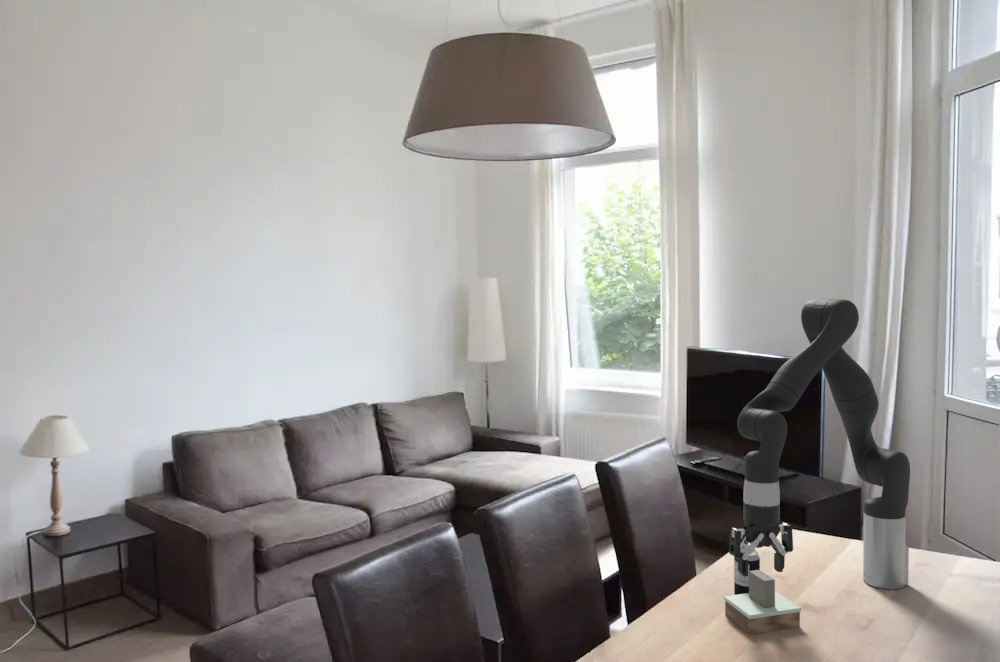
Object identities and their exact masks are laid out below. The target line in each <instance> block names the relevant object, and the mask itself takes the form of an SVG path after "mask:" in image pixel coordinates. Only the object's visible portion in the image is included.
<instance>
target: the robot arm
mask: <svg viewBox="0 0 1000 662" xmlns="http://www.w3.org/2000/svg"><path fill="white" fill-rule="evenodd" d="M800 313H801V314H800V320H801V325H802V329H803V331H804V334H805V337H806V338H807V340H808V342H809V344H808V345H807V346H806V347H805V348H803V349H802V350H801V351H799V352H798V353H796V354H795V355H793V356H792V357H790V358H789V359H788V360H787V361H785V362H784V363H783V364H782V365H781V366H780V367H779V368H778V370H777V371H776V373H774V375H773V377H772V378H771V380H770V382H769V383H768V384H767V386H766V388H765V389H764V390H762V391H761V392H760V393H758V394H757V395H756V396H755V397H754V398H752V400H751V401H750V402H748V403H747V404H746V405H745V406H744V407H743V409H742V410H741V412H740V413H739V415H738V418H737V421H736V424H737V425H736V426H737V431H738V432H739V434H740V436H742V437H743V438H745V439H747V440H751V441H756V442H760V447H759V448H758V450H752V451H749V452H748V453H747V454H746V455H745V458H744V483H743V492H742V493H743V498H742V501H743V508H742V510H743V511H742V513H743V516H742V517H743V518H742V519H743V523H744V524H743V527H742V528H736V527H731V528H730V531H729V548H728V553H729V555H731V556H733V557H736V558H738V572H740V574H741V575H742V576H744V577H745V576H748V560H747V558H748V556H749V555H750V553H751V552H753V551H754V550H755V551H756V548H757V549H760V548H763V547H766V548H769V547H771V548H772V550H774V551H775V552H774V553H773V554H774V555H773V562H774V563H773V569H774V570H775V571H776V572H777V573H783V571H784V568H785V559H786V558H785V556H786V555H787V553H791V552H793V551H794V540H793V539H794V538H793V526H792V525H791V524H788V523H787V522H784V521H782V522H781V523H780V520H781V517H780V516H781V515H780V512H781V511H780V510H781V505H780V503H781V497H780V496H781V491H780V480H779V479H780V478H779V477H780V474H779V473H780V471H779V470H780V468H779V467H780V466H779V465H780V464H779V463H780V460H781V456H782V452H783V449H784V445H785V443H786V439H787V435H788V423H787V420H786V418H785V416H784V415H783V413H781V412H788V411H791V410H793V408H794V407H795V406H796V404H797V403H798V401H799V400H800V399H801V397H802V395H803V394H804V392H805V391H806V389H807V387H808V386H809V384H810V383H811V381H813V379H814V378H815V376H817V374H818V373H819V372H820V371H821V370H822V371H823V373H824V376H825V379H826V381H827V383H828V386H829V389H830V392H831V396H832V398H833V400H834V401H833V402H834V405H835V406H836V409H837V411H838V413H839V415H840V417H841V422H842V425H843V427H844V430H845V433H846V436H847V439H848V442H849V447H850V451H851V455H852V459H853V463H854V467H855V471H856V472H857V475H858V476H859V478H860V479H861V480H862V481H863V482H865V483H867V484H871V485H874V486H878V487H882V490H881V496H877V497H870V498H866V499H865V500H864V502H863V540H862V541H863V553H862V554H863V555H862V556H863V562H862V563H863V569H862V570H863V573H862V579H863V582H864V583H865V584H867V585H869V586H870V587H871V586H872V587H874V588H879V589H884V590H898V589H902V588H904V587H905V586H907V585H909V574H910V572H909V571H910V570H909V569H910V568H909V567H910V566H909V563H910V561H909V557H910V556H909V554H910V553H909V552H910V548H909V546H908V545H907V544H906V516H907V515H906V514H907V513H906V510H907V506H908V503H909V496H910V495H909V494H910V491H909V490H910V479H911V464H910V460H909V458H908V456H907V455H906V454H905V453H904V452H902V451H899V450H895V449H890V448H889V449H888V448H884V447H883V448H882V447H880V446H878V445H877V444H876V442H875V439H874V436H873V433H872V426H873V423H874V421H875V419H876V416H877V414H878V412H879V406H880V405H879V400H878V395H877V392H876V390H875V387H874V384H873V382H872V378H871V377H870V376H869V374H868V373H867V372H866V371H865V370H864V369H863V368H862V367H861V366H860V364H859V363H858V362H856V360H854V358H852V357H851V356H850V355H849V354H848V353H847V352H846V350H845V349H844V348H843V346H844V345H845V343H846V342H847V341H848V340H849V339H850V338H851V337H852V336H853V334H854V333H855V331H856V330H857V327H858V325H859V321H860V320H859V319H860V317H859V316H860V314H859V309H858V308H857V306H856V305H855V304H854V302H853V301H850V300H848V299H842V298H841V299H840V298H815V299H814V298H813V299H810V300H807V301H806V302H805V303H804V305H803V307H802V309H801V312H800ZM779 523H780V524H779ZM779 534H781V535H780V536H781V537H780V538H781V542H780V540H779V539H778V538H777V537H778V536H779ZM743 536H744V538H743ZM742 539H743V540H742Z"/></svg>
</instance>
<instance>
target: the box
mask: <svg viewBox="0 0 1000 662" xmlns="http://www.w3.org/2000/svg"><path fill="white" fill-rule="evenodd" d="M724 603H725V604H724V606H725V607H724V611H725V613H724V615H725V617H727V618H728V619H729V620H730V621H732V622H734V624H736V625H737V626H739V627H740V628H741V629H743V630H744V631H745V632H747V633H748V634H749V635H756V634H761V633H762V634H763V633H769V632H774V631H780V630H787V629H794V628H795V629H797V628H800V627H801V618H800V617H801V616H800V615H801V612H795V613H788V614H781V615H774V616H768V617H761V618H754V619H749V618H748V617H746V616H745V615H744V614H742V613H741V612H740V611H738V610H737V609H736V608H734V607H733V606H731V605H730V604H729V603H727V602H726V601H725V600H724Z"/></svg>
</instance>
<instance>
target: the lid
mask: <svg viewBox="0 0 1000 662" xmlns="http://www.w3.org/2000/svg"><path fill="white" fill-rule="evenodd" d="M775 584H776V580H775V578H773V577H771V576H769V575H768V574H766V573H765V572H763V571H762V570H754V571H749V593H745V594H738V595H734V594H731V595H725V596H723V601H724V602H725V601H726V602H727V603H729V604H730V605H731V606H733V607H734V608H736V609H737V610H738V611H740V612H741V613H742V614H744V615H745V616H746V617H748V618H749V619H754V618H761V617H768V616H774V615H781V614H788V613H795V612H800V613H801V612H802V607H800V606H799V605H797V604H796V603H794V602H793V601H791V600H789V599H788V598H787V597H785V596H783V595H782V594H781V593H779V592H777V591H776V585H775Z"/></svg>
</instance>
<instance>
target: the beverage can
mask: <svg viewBox="0 0 1000 662" xmlns="http://www.w3.org/2000/svg"><path fill="white" fill-rule="evenodd" d="M733 557H734V556H733ZM747 560H748V576H745V577H744V576H742V575H741V574H740V572H738V558H736V557H734V559H733V564H734V565H733V566H734V569H733V573H734V574H733V576H734V578H733V579H734V581H733V582H734V586H733V587H734V592H733V593H734V594H733V595H738V594H745V593H749V571H754V570H760V569H761V568H760V567H761V564H760V563H761V562H760V561H761V558H760V556H759V552H758V551H757V550H756V549H755V550H754V551H753V552H751V553H750V555H749V556H748V558H747ZM760 571H761V570H760Z"/></svg>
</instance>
